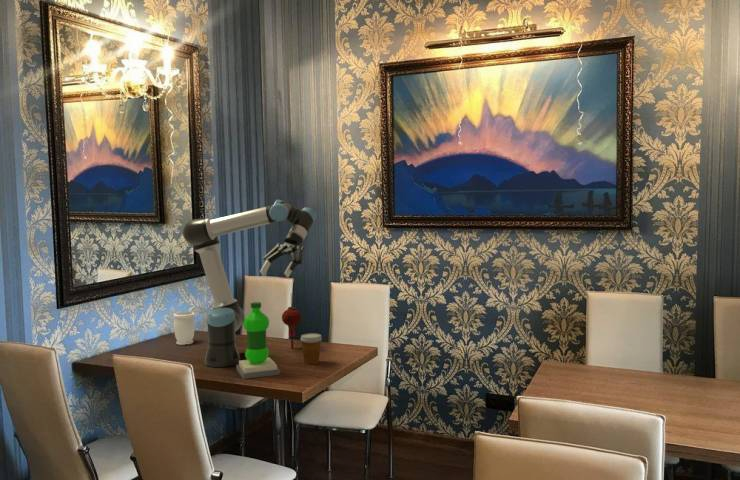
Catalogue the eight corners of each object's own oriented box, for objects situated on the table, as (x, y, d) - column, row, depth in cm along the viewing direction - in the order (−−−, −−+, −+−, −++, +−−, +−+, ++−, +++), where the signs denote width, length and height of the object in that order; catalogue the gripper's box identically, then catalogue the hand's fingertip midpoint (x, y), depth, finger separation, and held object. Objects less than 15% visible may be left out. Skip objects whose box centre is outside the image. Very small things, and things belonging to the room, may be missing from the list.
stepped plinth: (236, 369, 266) (236, 360, 265) (271, 365, 271) (270, 356, 271) (243, 379, 252) (243, 369, 252) (279, 374, 258) (279, 365, 257)
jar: (174, 341, 318) (173, 312, 317) (195, 339, 322) (194, 311, 320) (174, 346, 308) (173, 316, 307) (195, 344, 311) (195, 314, 310)
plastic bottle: (271, 358, 267) (269, 300, 265) (267, 365, 256) (266, 305, 255) (247, 359, 267) (246, 301, 265) (242, 366, 256) (241, 305, 255)
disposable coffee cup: (296, 363, 274) (295, 336, 273) (308, 358, 282) (308, 332, 281) (314, 366, 269) (314, 338, 269) (326, 361, 278) (326, 334, 277)
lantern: (304, 346, 305) (303, 285, 302) (298, 351, 296) (296, 288, 293) (286, 345, 307) (285, 284, 305) (279, 350, 298) (277, 287, 296)
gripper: (321, 243, 275) (300, 281, 263) (278, 241, 288) (256, 278, 277) (314, 232, 270) (292, 270, 258) (270, 231, 283) (247, 267, 272)
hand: (273, 274), depth 268 cm, fingers open, 13 cm apart
